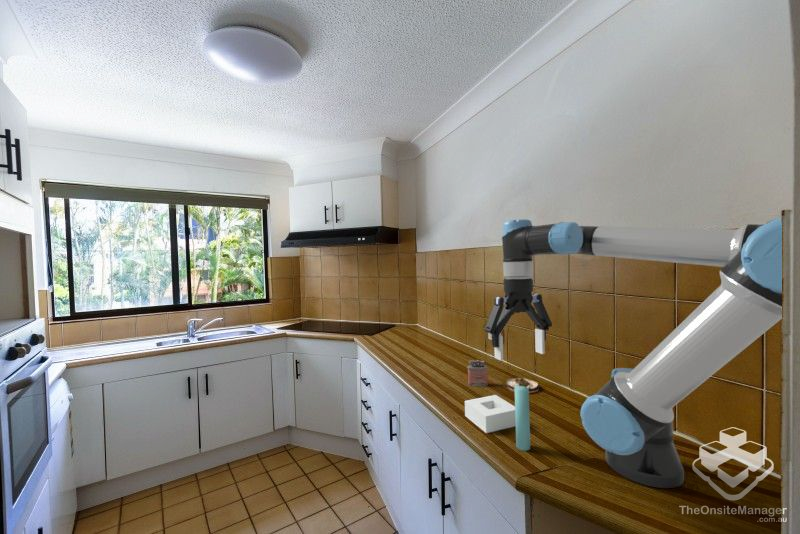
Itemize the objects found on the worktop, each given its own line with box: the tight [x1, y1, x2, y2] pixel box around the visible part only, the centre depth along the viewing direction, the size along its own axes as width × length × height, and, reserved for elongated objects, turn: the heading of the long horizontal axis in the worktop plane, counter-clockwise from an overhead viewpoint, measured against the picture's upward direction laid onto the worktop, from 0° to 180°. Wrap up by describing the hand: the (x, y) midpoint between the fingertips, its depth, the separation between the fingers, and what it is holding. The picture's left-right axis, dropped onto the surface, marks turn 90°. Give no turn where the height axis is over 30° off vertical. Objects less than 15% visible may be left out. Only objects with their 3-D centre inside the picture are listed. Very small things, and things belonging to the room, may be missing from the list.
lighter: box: [466, 359, 489, 387], centre depth 136 cm, size 8×3×10 cm, turn 84°
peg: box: [514, 386, 531, 452], centre depth 90 cm, size 4×4×16 cm
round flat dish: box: [505, 377, 540, 394], centre depth 131 cm, size 15×15×4 cm
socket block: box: [464, 394, 516, 434], centre depth 105 cm, size 12×12×5 cm
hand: (520, 356), depth 89 cm, fingers open, 13 cm apart
